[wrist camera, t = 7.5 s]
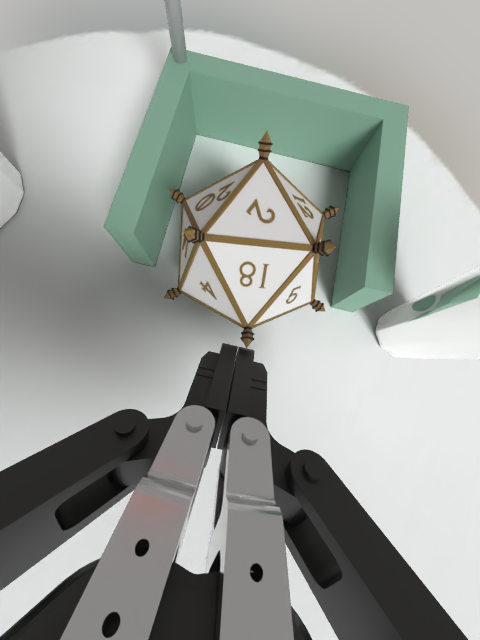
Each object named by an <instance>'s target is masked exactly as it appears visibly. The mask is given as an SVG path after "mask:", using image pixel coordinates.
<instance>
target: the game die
mask: <svg viewBox="0 0 480 640" xmlns="http://www.w3.org/2000/svg"><path fill="white" fill-rule="evenodd" d="M258 143H259V149H258V151H259V156H260V157H259V159H258V160H256V161H254V162H252V163H250V164H249V165H247V166H245V167H243V168H241V169H239V170H238V171H236V172H234V173H232V174H230V175H228V176H227V177H225V178H223V179H221V180H219V181H217V182H216V183H214V184H212V185H210V186H208V187H206V188H205V189H203V190H201V191H199V192H197V193H195V194H194V195H192V196H190V197H188V198H185V197H184V196H183V193H181V192H179V189H177V190H170V189H168V190H169V192H170V194H171V196H172V197H171V198H172V199H173V200H175V201H176V202H177V203H181V204H182V216H181V236H180V256H179V276H178V287H177V288H175V289H174V288H172V290H167V291H168V292H167V293H166V295H165V297H164V298H168V299H173V300H174V298H175V297H178V295H179V294H181V293H182V294H184V295H186V296H188V297H189V298H191V299H193V300H195V301H196V302H198V303H200V304H202V305H203V306H205V307H207V308H209V309H210V310H212V311H214V312H216V313H217V314H219V315H221V316H223V317H225V318H226V319H228V320H230V321H232V322H233V323H235V324H237V325H239V326H240V327H242V328H244V330H243V332H241V334H242V337H241V340H242V341H243V342H244V344H245V346H246V348H247V347H248V346H249V344H250V343H251V341H253V340H254V338H253V335H254V333H252V330H251V329H252V328H254V327H257V326H259V325H261V324H264V323H266V322H268V321H271V320H273V319H275V318H278V317H280V316H282V315H285V314H287V313H289V312H292V311H294V310H296V309H299V308H301V307H303V306H306V305H308V304H311V305H312V309H315V310H316V312H317V311H325V309H324V306H323V305H324V304H323V303H320V301H318V300H315V299H314V297H315V290H316V282H317V275H318V267H319V260H320V255H321V256H323V255H326V256H329V254H330V253H331V252H332V251H333V250H334V249H335V248H336V247H337V246H336V245H334V244H333V243H332V242H331V240H327V241H322V237H323V230H324V222H325V219H326V218H328V219H329V218H331V217H334V216H335V215H336V213H337V211H338V210H339V208H338V207H332V206H330V207H329V208H328V209H327V208H326V209H325V211H324V212H321V211H320V210H319V209H318V208H317V207H316V206H315V205H314V204H313V203H312V202H311V201H309V200H308V199H307V198H306V197H305V196H304V195H303V194H302V193H301V192H300V191H299V190H298V189H297V188H296V187H295V186H294V185H293V184H292V183H291V182H290V181H289V180H288V179H287V178H286V177H285V176H284V175H283V174H282V173H281V172H280V171H279V170H278V169H277V168H276V167H275V166H274V165H273V164H272V163H271V162H270V161H269V160H268V156H269V153H270V152H271V145H273V143H271V140H270V137H269V134H268V131H266V133H265V134H264V136H263V137H262V139H261V140H260V141H259V142H258Z"/></svg>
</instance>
